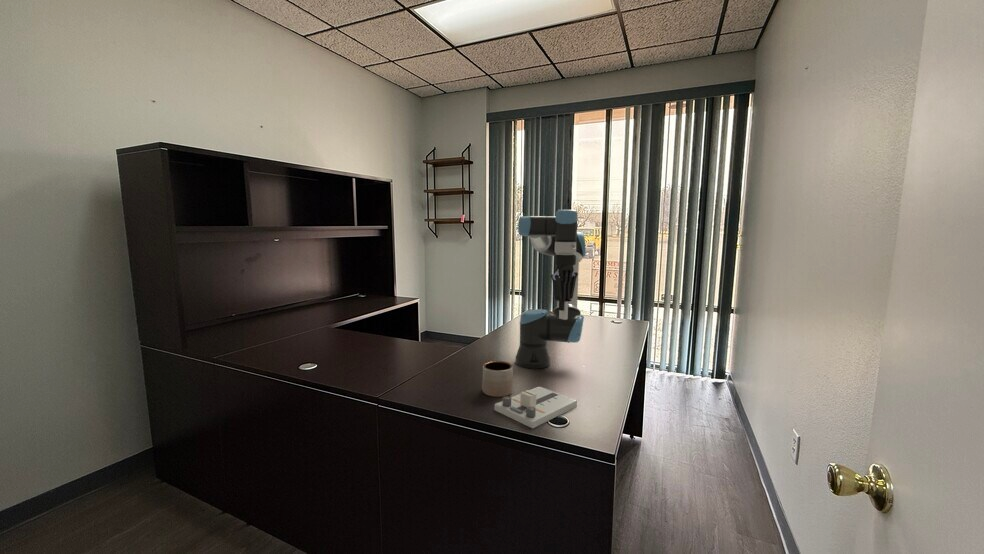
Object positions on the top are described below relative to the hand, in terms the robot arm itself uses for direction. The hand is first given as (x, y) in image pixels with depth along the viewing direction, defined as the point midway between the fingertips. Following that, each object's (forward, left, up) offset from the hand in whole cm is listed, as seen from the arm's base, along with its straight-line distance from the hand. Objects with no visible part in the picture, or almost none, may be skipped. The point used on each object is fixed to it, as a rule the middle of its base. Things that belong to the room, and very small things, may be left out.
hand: (563, 318), depth 142 cm
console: (+6, -21, -26) cm, 33 cm away
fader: (+6, -25, -23) cm, 35 cm away
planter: (-12, -21, -26) cm, 35 cm away
